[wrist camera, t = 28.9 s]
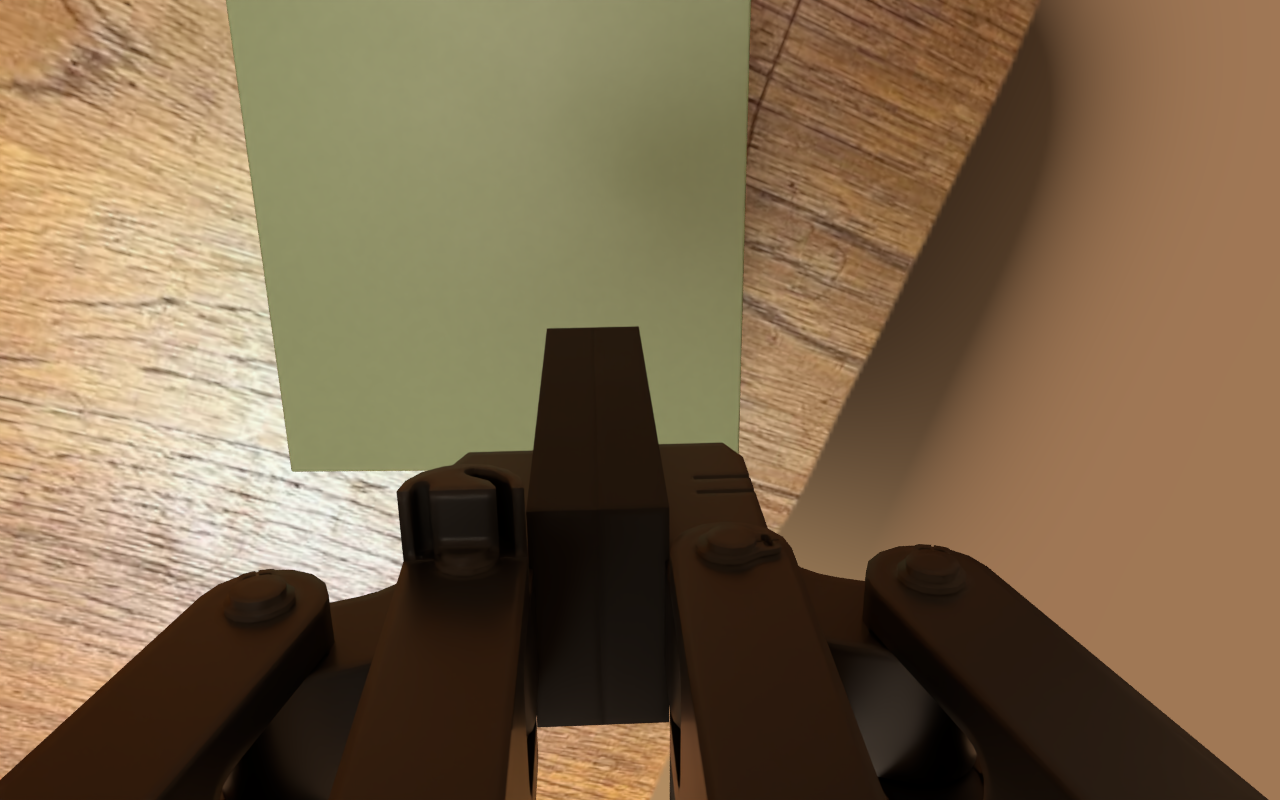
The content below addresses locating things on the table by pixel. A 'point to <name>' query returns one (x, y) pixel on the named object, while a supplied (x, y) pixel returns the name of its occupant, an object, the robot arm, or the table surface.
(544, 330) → the cover
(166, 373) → the table surface
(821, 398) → the table surface
